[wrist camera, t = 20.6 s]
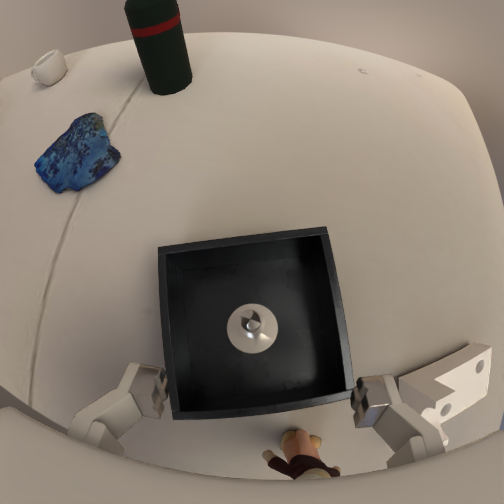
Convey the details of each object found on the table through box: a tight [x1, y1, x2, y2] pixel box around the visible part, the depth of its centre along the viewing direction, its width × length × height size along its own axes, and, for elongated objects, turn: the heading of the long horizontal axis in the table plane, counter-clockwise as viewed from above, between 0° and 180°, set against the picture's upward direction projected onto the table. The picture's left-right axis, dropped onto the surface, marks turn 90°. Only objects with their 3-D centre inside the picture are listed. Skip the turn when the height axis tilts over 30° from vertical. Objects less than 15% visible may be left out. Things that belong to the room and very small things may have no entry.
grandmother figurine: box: [262, 430, 341, 480], centre depth 19 cm, size 8×4×13 cm, turn 79°
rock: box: [34, 113, 121, 193], centre depth 36 cm, size 15×17×2 cm
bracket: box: [399, 342, 492, 446], centre depth 22 cm, size 13×7×8 cm, turn 100°
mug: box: [31, 49, 67, 86], centre depth 43 cm, size 12×8×8 cm
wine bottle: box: [124, 0, 192, 96], centre depth 28 cm, size 8×10×30 cm
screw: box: [227, 304, 278, 353], centre depth 22 cm, size 13×5×5 cm
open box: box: [158, 226, 354, 420], centre depth 26 cm, size 16×16×7 cm
